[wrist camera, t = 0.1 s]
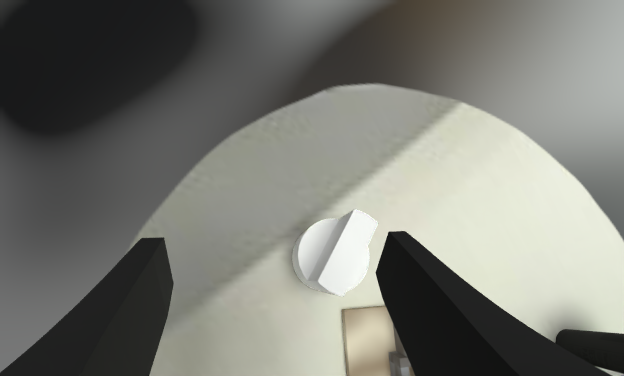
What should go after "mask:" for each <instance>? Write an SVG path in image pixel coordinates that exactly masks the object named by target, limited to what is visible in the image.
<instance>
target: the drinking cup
mask: <svg viewBox="0 0 624 376" xmlns="http://www.w3.org/2000/svg"><path fill="white" fill-rule="evenodd" d="M556 344H557V345H559V346H561V347H562V348H564V349H566V350H567V351H569V352H571V353H572V354H574V355H576V356H577V357H579V358H581V359H583V360H585V361H586V362H588V363H590V364H592V365H594V366H596V367H599V368H603V369H607V370H611V371H614V372H618V373H622V374H624V334H619V333H606V332H593V331H580V330H568V329H565V330H562V331H561V332H559V334H558V335H557V338H556Z"/></svg>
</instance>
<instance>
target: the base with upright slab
mask: <svg viewBox="0 0 624 376" xmlns="http://www.w3.org/2000/svg"><path fill="white" fill-rule="evenodd" d="M377 225H378V223H377V221H376V220H374V219H373V218H372V217H371V216H369V215H368V214H366V213H364V212H361V211H359V210H356V209H354V210H353V211H351V212H350V213H348V214H346V215H345V216H343V217H342V218H340V219H335V218H331V219H324V220H321V221H319V222H316V223H315V224H314V225H312V226H311V227H310V228H308V229H307V230H306V231H305V232H304V233H303V234H301V236H300V237H299V238H298V240H297V241H296V243H295V246H294V248H293V253H292V262H293V268H294V270H295V273H296V275H297V276H298V278H299V279H300V280H301V282H303V283H304V284H305V285H306V286H308V287H309V288H312V289H314V290H317V291H321V292H326V293H330V294H334V295H338V296H344V295H345V293H346V292H347V291H349V290H351V289H353V288H354V287H356V286H357V285H358V284H359V283H360V282H361V281H362V279H363V278H364V276H365V274H366V272H367V269H368V266H369V256H370V254H369V249H368V244H369V242H370V240H371V238H372V236H373V234H374V231H375V229H376V227H377Z"/></svg>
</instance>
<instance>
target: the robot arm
mask: <svg viewBox="0 0 624 376" xmlns="http://www.w3.org/2000/svg"><path fill="white" fill-rule="evenodd" d="M376 276H377V280H378V283H379V287H380V291H381V294H382V297H383V300H384V303H385V305H386V308H387V310H388V313H389V315H390V317H391V320H392V322H393V324H394V327H395V329H396V331H397V334H398V336H399V338H400V341H401V343H402V345H403V348H404V350H405V352H406V355H407V357H408V359H409V362H410V364H411V367H412V369H413V372H414V374H415V376H612V375H610V374H608V373H606V372H605V371H603V370H601V369H599V368H597V367H595V366H594V365H592V364H590V363H588V362H586V361H585V360H583V359H581V358H579V357H577V356H576V355H574V354H572V353H571V352H569V351H567V350H566V349H564V348H562V347H561V346H559V345H557V344H555V343H554V342H552V341H550V340H549V339H547V338H545V337H544V336H542V335H541V334H539V333H538V332H536V331H534V330H533V329H531V328H530V327H528V326H527V325H525V324H524V323H522V322H521V321H519V320H518V319H516V318H515V317H513V316H512V315H510V314H509V313H507V312H506V311H504V310H503V309H502V308H500V307H499V306H497V305H496V304H495V303H493V302H492V301H491V300H489V299H488V298H487V297H485V296H484V295H483V294H481V293H480V292H479V291H477V290H476V289H475V288H473V287H472V286H471V285H470V284H468V283H467V282H466V281H464V280H463V279H462V278H461V277H460V276H458V275H457V274H456V273H455V272H453V271H452V270H451V269H450V268H449V267H447V266H446V265H445V264H444V263H443V262H441V261H440V260H439V259H438V258H437V257H436V256H434V255H433V254H432V253H431V252H430V251H428V250H427V249H426V248H425V247H424V246H423V245H421V244H420V243H419V242H418V241H417V240H415V239H414V238H413V237H412V236H411V235H409V234H408V233H407V232H405V231H397V232H389V233H388V236H387V239H386V242H385V245H384V248H383V251H382V255H381V258H380V261H379V264H378V267H377V270H376ZM172 289H173V279H172V274H171V269H170V264H169V260H168V255H167V250H166V245H165V240H164V238H141V239H140V240H139V241H138V242H137V243H136V244H135V245H134V246H133V247H132V248H131V250H130V251H129V252H128V253H127V254H126V255H125V256H124V257H123V258H122V259H121V260H120V261H119V262H118V263H117V265H116V266H115V267H114V268H113V269H112V270H111V271H110V272H109V273H108V274H107V275H106V276H105V277H104V278H103V279H102V280H101V281H100V282H99V283H98V284H97V285H96V286H95V287H94V288H93V289H92V290H91V291H90V292H89V293H88V294H87V295H86V296H85V297H84V298H83V299H82V300H81V301H80V303H78V304H77V305H76V306H75V307H74V308H73V309H72V310H71V311H70V312H69V313H68V314H67V315H65V316H64V317H63V318H62V319H61V320H60V321H59V322H58V323H57V324H56V325H55V326H54V327H53V328H52V329H50V330H49V332H47V333H46V334H45V335H44V336H43V337H42V338H41V339H40V340H38V341H37V342H36V343H35V344H34V345H33V346H32V347H30V348H29V349H28V350H27V351H26V352H25V353H23V354H22V355H21V356H20V357H19V358H17V359H16V360H15V361H14V362H13V363H11V364H10V365H9V366H8V367H7V368H5V369H4V370H3V371H2V372H1V373H0V376H149V374H150V371H151V368H152V365H153V361H154V358H155V355H156V352H157V349H158V345H159V342H160V339H161V336H162V333H163V329H164V326H165V323H166V319H167V316H168V311H169V306H170V301H171V295H172Z"/></svg>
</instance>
